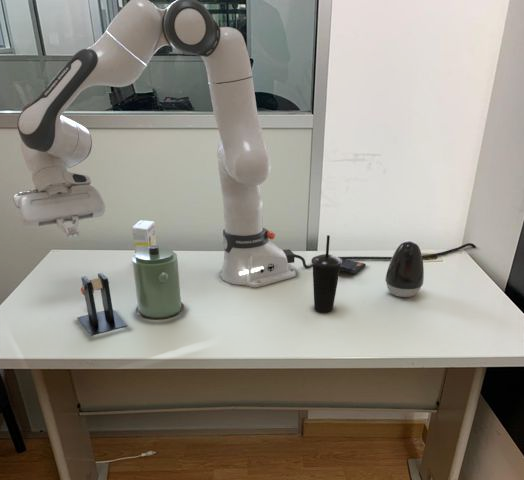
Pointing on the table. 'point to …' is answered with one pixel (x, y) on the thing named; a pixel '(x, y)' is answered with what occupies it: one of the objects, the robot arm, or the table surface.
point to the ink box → (144, 234)
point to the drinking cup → (325, 280)
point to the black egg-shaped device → (405, 270)
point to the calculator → (351, 266)
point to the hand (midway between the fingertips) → (72, 235)
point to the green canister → (157, 283)
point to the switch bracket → (103, 319)
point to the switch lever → (94, 285)
